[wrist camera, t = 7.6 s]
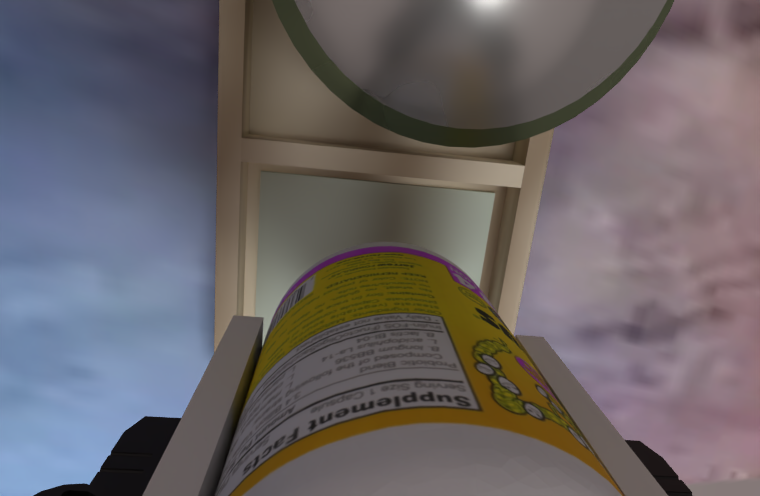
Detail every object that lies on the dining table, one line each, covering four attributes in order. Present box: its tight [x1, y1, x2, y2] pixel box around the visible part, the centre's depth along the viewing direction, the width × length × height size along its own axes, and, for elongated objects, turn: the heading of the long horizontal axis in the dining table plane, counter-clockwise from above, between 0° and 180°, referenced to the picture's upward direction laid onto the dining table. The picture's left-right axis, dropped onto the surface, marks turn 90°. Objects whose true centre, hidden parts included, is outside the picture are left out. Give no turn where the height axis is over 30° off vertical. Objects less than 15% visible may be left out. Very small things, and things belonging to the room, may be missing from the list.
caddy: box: [214, 0, 554, 353], centre depth 18 cm, size 12×29×2 cm, turn 174°
